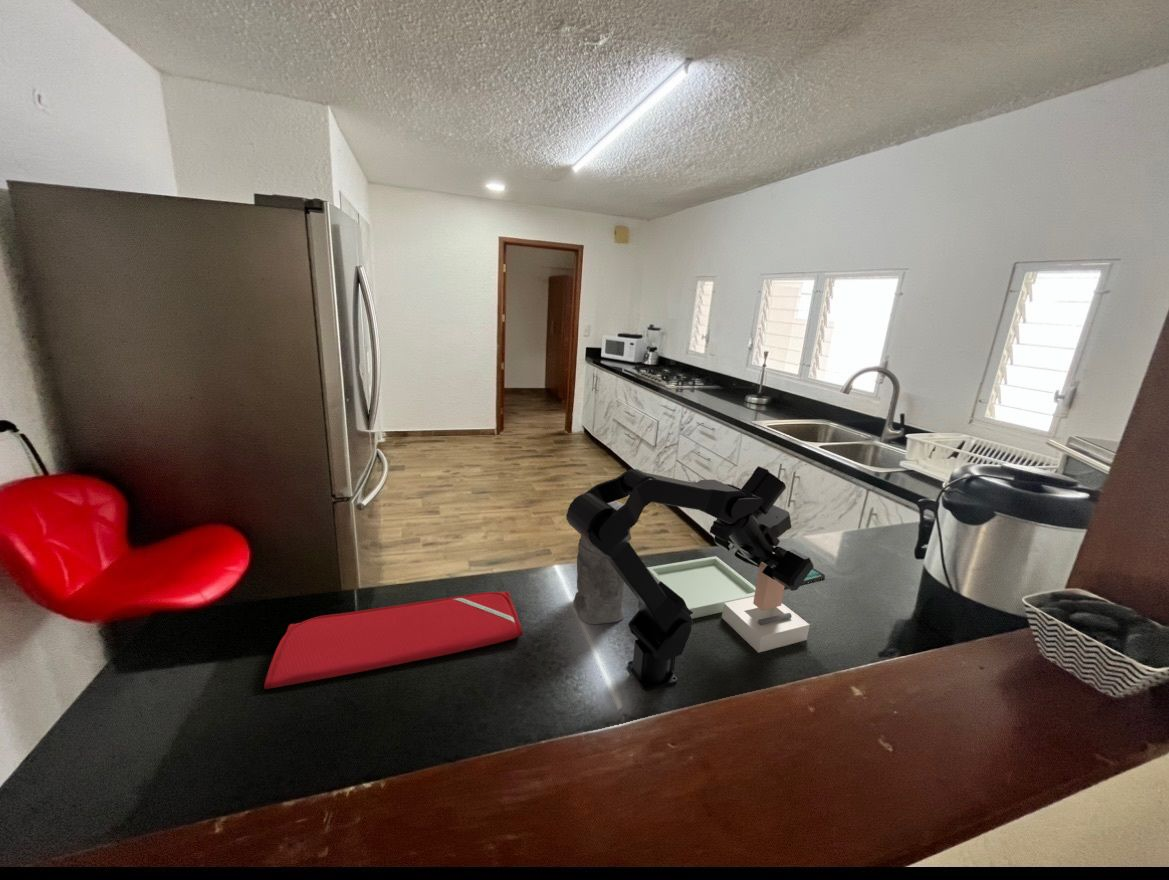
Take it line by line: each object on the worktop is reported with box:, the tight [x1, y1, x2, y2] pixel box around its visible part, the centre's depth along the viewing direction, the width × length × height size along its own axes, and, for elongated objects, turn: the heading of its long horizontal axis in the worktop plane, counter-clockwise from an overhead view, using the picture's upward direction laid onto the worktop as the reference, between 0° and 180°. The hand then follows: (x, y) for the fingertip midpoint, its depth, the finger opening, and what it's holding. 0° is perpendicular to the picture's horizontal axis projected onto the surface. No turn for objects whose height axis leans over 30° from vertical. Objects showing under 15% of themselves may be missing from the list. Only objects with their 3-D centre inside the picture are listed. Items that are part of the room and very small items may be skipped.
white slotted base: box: [721, 597, 811, 653], centre depth 93 cm, size 12×11×4 cm
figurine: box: [572, 500, 632, 625], centre depth 94 cm, size 10×14×25 cm
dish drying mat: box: [263, 591, 524, 690], centre depth 85 cm, size 16×41×4 cm, turn 109°
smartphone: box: [785, 567, 826, 589], centre depth 114 cm, size 7×1×15 cm
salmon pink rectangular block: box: [753, 552, 785, 611], centre depth 91 cm, size 5×2×11 cm, turn 114°
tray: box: [646, 556, 756, 620], centre depth 106 cm, size 20×17×2 cm
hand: (775, 572), depth 91 cm, fingers closed on salmon pink rectangular block, 3 cm apart
